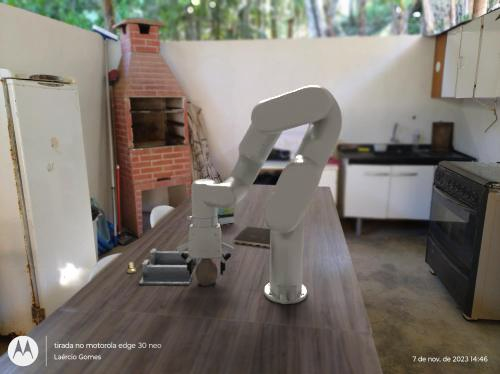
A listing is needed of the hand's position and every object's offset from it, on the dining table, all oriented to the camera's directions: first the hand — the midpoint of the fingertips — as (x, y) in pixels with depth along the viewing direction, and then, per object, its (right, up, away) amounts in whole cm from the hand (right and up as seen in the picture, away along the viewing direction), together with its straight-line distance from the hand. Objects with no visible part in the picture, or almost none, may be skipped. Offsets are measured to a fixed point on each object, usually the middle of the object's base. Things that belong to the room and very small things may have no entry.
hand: (206, 272), depth 117 cm
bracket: (-12, -1, +10) cm, 16 cm away
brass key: (-27, -1, +11) cm, 29 cm away
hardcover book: (+21, +5, +36) cm, 42 cm away
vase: (0, -4, +1) cm, 4 cm away
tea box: (-1, +11, +60) cm, 61 cm away
